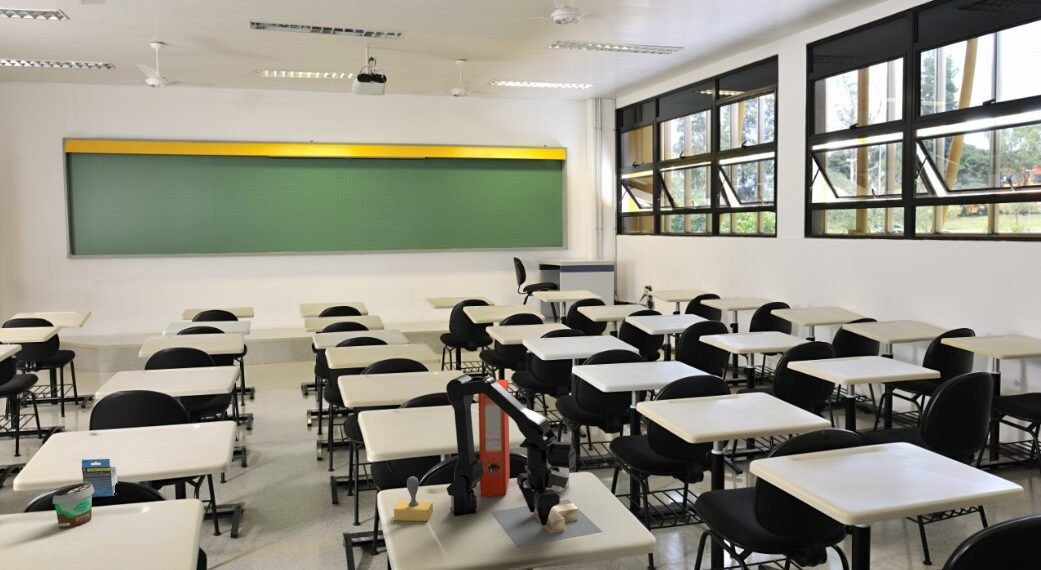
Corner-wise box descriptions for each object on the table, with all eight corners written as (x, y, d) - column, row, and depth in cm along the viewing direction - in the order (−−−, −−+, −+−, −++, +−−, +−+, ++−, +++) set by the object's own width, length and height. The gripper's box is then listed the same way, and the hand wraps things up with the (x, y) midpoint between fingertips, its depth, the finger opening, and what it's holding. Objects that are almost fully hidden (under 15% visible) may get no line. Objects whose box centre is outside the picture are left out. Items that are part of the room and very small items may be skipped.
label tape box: (118, 491, 240) (115, 454, 239) (112, 496, 236) (109, 458, 235) (90, 493, 240) (87, 455, 238) (83, 498, 236) (80, 459, 234)
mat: (517, 548, 194) (517, 546, 194) (490, 513, 216) (490, 511, 216) (602, 533, 202) (602, 531, 202) (567, 500, 224) (567, 499, 224)
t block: (551, 531, 202) (550, 521, 202) (533, 512, 215) (533, 502, 215) (585, 525, 205) (585, 515, 205) (565, 506, 218) (565, 496, 218)
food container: (74, 532, 210) (70, 497, 209) (55, 530, 212) (51, 496, 211) (106, 514, 222) (103, 481, 221) (88, 513, 224) (85, 480, 223)
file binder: (510, 476, 246) (508, 379, 242) (506, 496, 229) (504, 393, 225) (485, 476, 246) (483, 379, 243) (480, 496, 229) (477, 393, 226)
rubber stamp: (433, 513, 217) (431, 473, 216) (428, 522, 212) (426, 480, 210) (399, 512, 219) (398, 472, 217) (394, 521, 213) (392, 480, 212)
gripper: (578, 471, 200) (578, 527, 202) (552, 450, 218) (552, 502, 220) (538, 476, 197) (539, 534, 198) (515, 454, 214) (516, 507, 216)
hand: (538, 518), depth 208 cm, fingers open, 9 cm apart
